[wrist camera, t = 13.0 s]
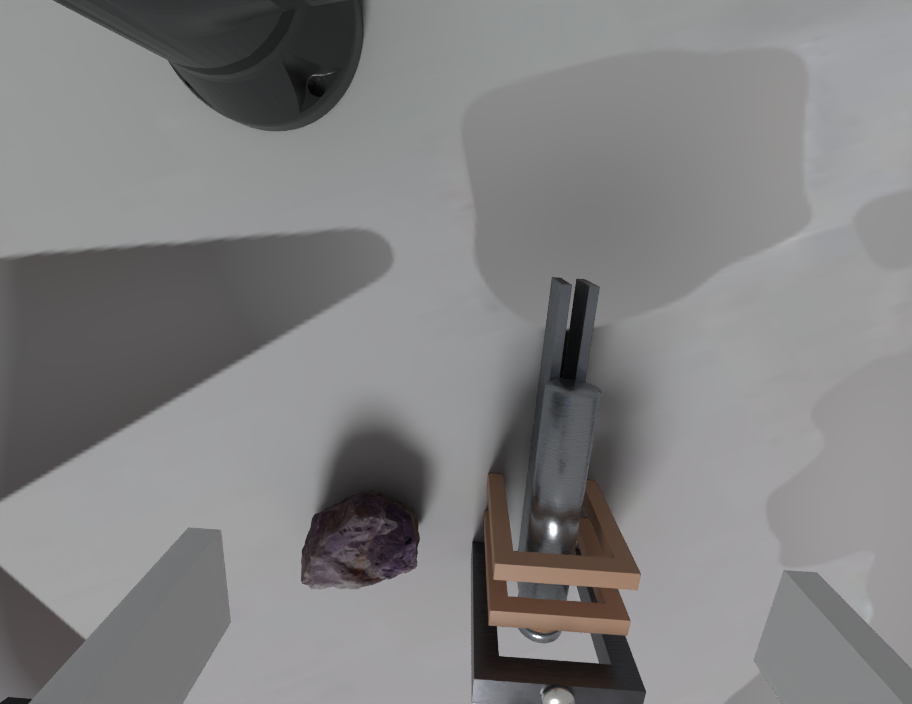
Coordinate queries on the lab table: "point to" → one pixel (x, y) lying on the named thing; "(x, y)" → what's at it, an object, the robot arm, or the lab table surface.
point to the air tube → (559, 482)
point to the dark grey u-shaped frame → (546, 661)
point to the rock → (360, 543)
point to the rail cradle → (553, 353)
